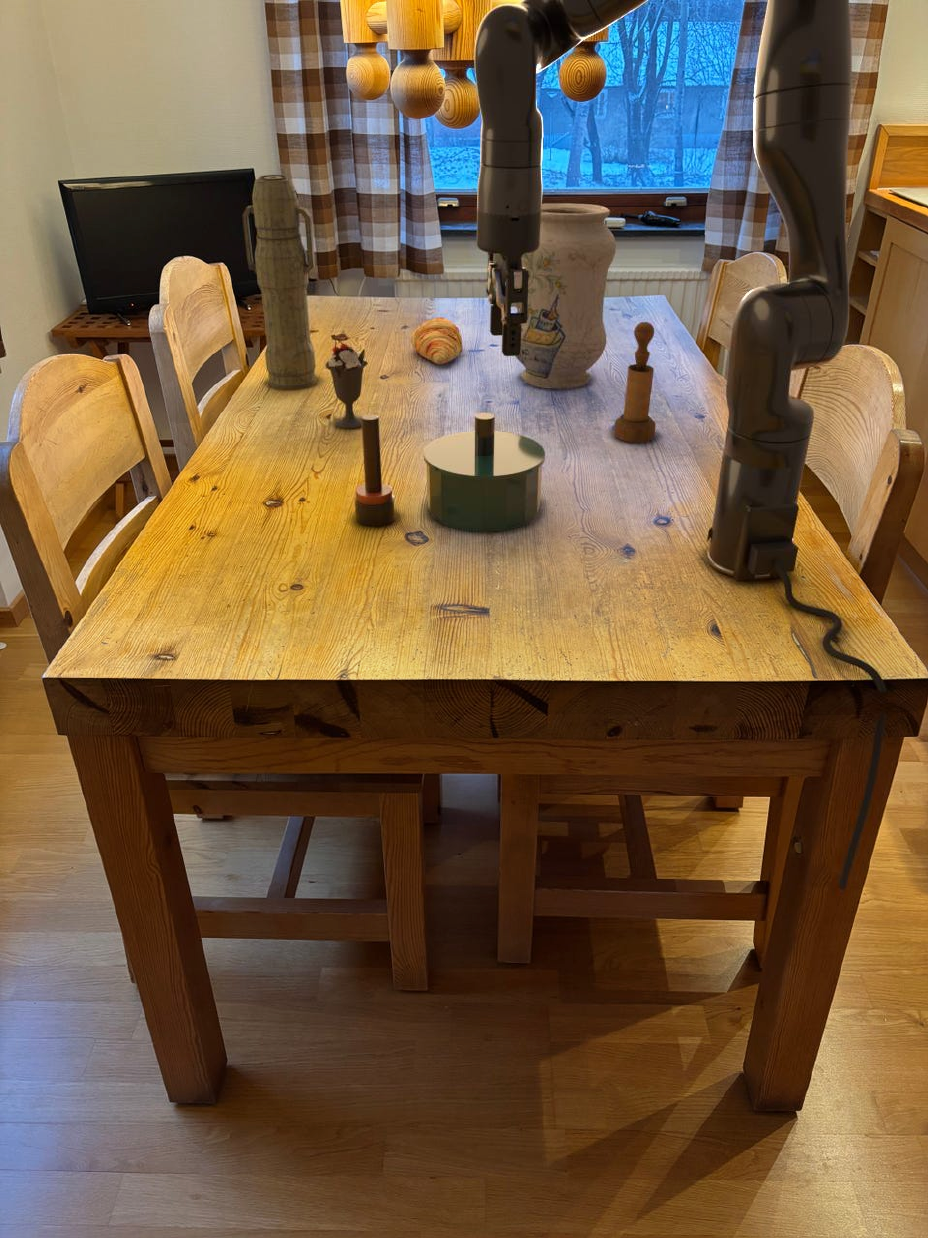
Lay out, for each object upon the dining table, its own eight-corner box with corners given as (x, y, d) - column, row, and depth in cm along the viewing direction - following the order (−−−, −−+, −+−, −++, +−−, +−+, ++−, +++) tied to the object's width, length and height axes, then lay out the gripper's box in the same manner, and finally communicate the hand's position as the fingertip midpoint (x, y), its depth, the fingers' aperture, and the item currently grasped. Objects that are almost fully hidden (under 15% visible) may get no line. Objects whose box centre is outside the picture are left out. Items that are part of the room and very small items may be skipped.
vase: (545, 358, 192) (553, 195, 176) (623, 376, 182) (638, 205, 167) (489, 380, 180) (492, 207, 164) (569, 400, 170) (580, 219, 155)
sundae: (321, 426, 159) (314, 335, 151) (344, 414, 164) (338, 325, 156) (355, 433, 157) (349, 340, 149) (377, 420, 162) (373, 330, 154)
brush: (396, 525, 128) (392, 422, 120) (357, 528, 127) (350, 425, 120) (392, 508, 132) (388, 408, 125) (354, 511, 131) (348, 410, 124)
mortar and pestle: (653, 444, 153) (666, 329, 143) (612, 441, 154) (622, 327, 144) (655, 429, 158) (667, 318, 149) (615, 427, 159) (624, 316, 150)
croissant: (456, 385, 188) (475, 348, 185) (410, 362, 185) (429, 325, 182) (445, 351, 206) (463, 318, 203) (403, 331, 203) (420, 296, 199)
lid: (558, 480, 123) (560, 434, 120) (432, 488, 121) (431, 441, 118) (529, 435, 137) (531, 392, 134) (416, 442, 135) (415, 398, 131)
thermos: (323, 389, 176) (306, 180, 157) (257, 389, 175) (233, 180, 157) (326, 374, 183) (311, 172, 165) (264, 374, 183) (242, 173, 165)
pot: (550, 527, 127) (553, 474, 123) (436, 536, 125) (435, 482, 121) (525, 481, 140) (527, 432, 136) (421, 488, 138) (420, 439, 134)
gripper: (468, 196, 118) (466, 329, 127) (487, 218, 106) (484, 363, 115) (528, 195, 119) (522, 327, 128) (554, 217, 107) (546, 361, 116)
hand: (504, 344), depth 121 cm, fingers open, 8 cm apart
